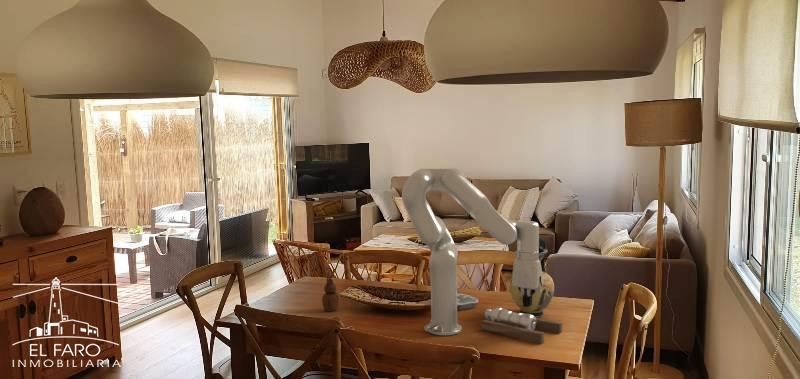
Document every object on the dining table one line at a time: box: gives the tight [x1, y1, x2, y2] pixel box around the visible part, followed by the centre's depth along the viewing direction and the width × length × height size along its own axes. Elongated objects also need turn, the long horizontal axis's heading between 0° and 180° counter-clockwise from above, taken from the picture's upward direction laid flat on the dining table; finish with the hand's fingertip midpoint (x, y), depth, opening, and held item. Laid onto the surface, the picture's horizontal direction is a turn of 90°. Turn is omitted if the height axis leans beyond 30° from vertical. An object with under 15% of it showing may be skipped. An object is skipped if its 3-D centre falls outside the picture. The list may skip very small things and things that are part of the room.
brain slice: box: [457, 293, 480, 311], centre depth 269 cm, size 20×17×3 cm
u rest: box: [481, 317, 563, 345], centre depth 234 cm, size 16×24×4 cm, turn 49°
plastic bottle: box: [484, 307, 536, 331], centre depth 237 cm, size 6×7×20 cm
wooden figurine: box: [321, 275, 340, 313], centre depth 264 cm, size 7×6×15 cm
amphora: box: [509, 237, 555, 318], centre depth 253 cm, size 18×17×30 cm
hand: (527, 305), depth 232 cm, fingers closed
